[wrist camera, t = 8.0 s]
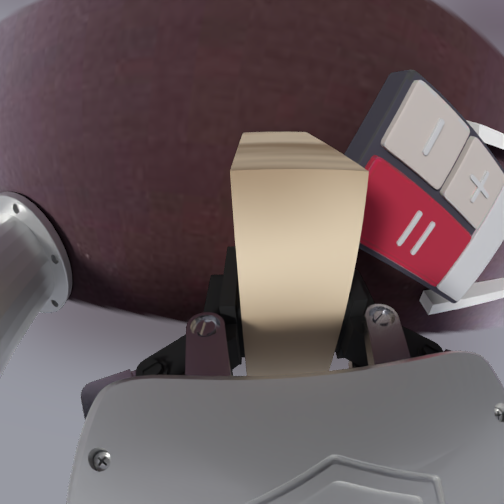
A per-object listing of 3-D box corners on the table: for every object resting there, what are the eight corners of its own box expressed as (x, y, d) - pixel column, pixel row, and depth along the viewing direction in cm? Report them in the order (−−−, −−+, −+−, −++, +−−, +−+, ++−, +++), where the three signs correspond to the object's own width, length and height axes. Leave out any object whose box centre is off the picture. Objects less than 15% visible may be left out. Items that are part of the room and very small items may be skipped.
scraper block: (242, 132, 14) (229, 170, 6) (305, 132, 14) (368, 171, 6) (250, 291, 20) (249, 403, 12) (298, 289, 20) (319, 398, 12)
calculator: (418, 64, 9) (529, 206, 12) (385, 70, 13) (499, 187, 16) (320, 233, 14) (459, 311, 17) (308, 205, 18) (437, 281, 21)
